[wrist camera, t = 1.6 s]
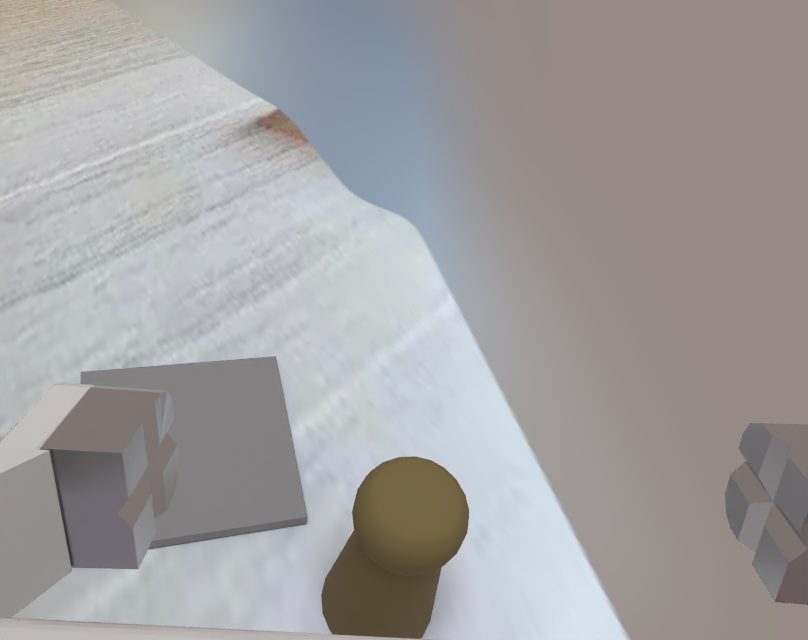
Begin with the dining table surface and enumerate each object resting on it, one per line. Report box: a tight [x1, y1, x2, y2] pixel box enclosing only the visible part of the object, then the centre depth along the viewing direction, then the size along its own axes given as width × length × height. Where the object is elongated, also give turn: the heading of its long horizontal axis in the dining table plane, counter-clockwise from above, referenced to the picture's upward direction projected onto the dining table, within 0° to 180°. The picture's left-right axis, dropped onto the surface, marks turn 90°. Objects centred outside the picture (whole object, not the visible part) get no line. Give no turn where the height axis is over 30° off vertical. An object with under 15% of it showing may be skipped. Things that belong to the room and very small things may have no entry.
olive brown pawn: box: [322, 457, 469, 639], centre depth 34 cm, size 6×6×11 cm
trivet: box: [81, 356, 307, 549], centre depth 42 cm, size 12×12×1 cm
